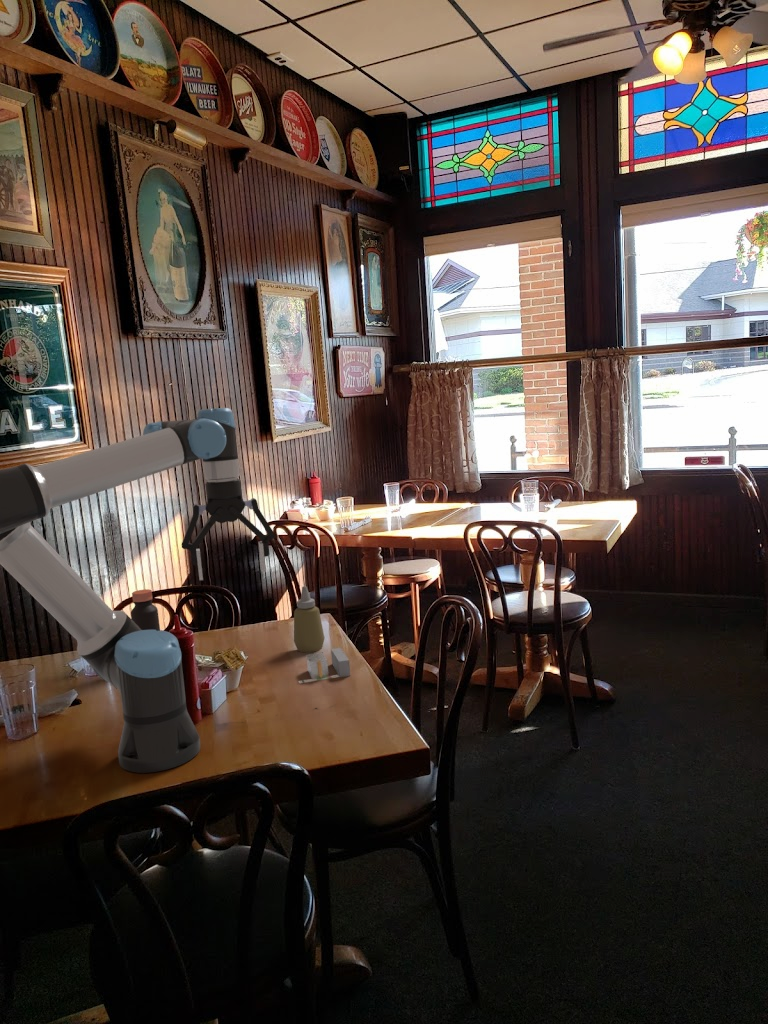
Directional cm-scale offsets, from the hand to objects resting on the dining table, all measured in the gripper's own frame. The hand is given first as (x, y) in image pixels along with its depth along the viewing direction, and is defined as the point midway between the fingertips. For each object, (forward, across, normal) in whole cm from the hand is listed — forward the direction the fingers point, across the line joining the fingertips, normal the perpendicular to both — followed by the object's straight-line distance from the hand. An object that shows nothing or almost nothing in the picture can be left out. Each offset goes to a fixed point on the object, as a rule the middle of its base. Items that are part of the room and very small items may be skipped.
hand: (232, 575), depth 168 cm
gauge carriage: (+27, -18, -5) cm, 33 cm away
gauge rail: (+29, -17, -5) cm, 34 cm away
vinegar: (+29, +22, -35) cm, 50 cm away
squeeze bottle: (+29, -19, -25) cm, 43 cm away
